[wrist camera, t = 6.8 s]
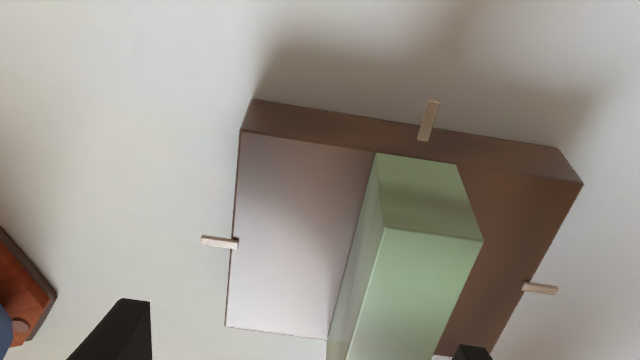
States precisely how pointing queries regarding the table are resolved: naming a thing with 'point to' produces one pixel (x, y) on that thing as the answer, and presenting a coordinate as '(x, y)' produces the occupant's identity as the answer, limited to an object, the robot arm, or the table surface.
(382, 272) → the mint green brick
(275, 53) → the table surface
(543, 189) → the brown piece
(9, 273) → the model
